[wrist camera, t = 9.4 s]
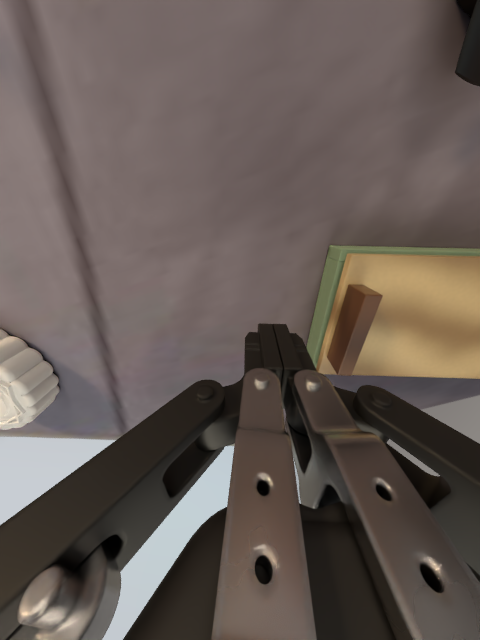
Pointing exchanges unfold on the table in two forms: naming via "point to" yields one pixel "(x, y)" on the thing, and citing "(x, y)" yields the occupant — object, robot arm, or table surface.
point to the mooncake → (23, 383)
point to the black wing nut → (470, 44)
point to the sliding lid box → (333, 276)
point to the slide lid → (405, 317)
